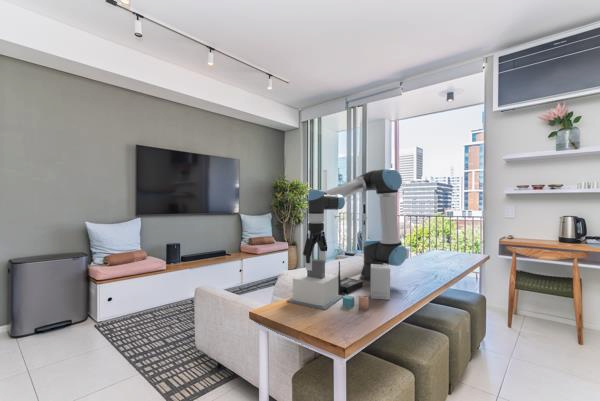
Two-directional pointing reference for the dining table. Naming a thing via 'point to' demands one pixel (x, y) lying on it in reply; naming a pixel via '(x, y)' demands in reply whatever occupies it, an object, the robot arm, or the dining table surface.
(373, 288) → the supplement box
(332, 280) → the cover
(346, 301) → the teal cube
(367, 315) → the dining table surface
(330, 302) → the pad
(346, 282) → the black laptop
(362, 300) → the terracotta cylinder
